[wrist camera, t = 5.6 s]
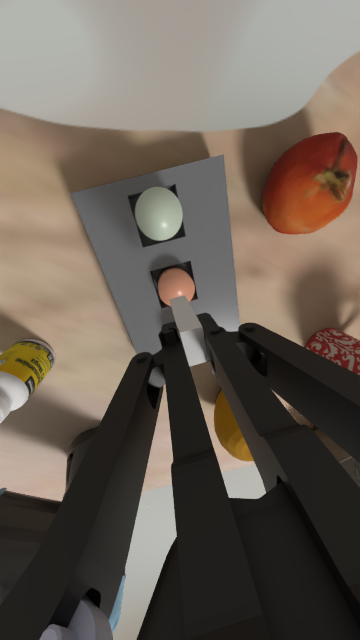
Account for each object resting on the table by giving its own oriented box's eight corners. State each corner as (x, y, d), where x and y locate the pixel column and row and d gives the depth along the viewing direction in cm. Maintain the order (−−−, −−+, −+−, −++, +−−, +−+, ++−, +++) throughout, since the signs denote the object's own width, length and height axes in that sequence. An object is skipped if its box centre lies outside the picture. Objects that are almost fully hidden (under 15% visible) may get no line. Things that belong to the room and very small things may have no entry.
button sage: (145, 242, 22) (143, 245, 19) (132, 199, 20) (128, 193, 17) (181, 233, 22) (186, 234, 19) (172, 189, 20) (176, 181, 17)
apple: (243, 358, 36) (279, 410, 26) (275, 391, 41) (316, 445, 31) (193, 397, 39) (207, 457, 28) (228, 423, 44) (252, 482, 34)
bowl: (291, 462, 55) (317, 507, 46) (280, 427, 47) (310, 473, 38) (353, 438, 54) (393, 480, 45) (353, 397, 46) (402, 438, 37)
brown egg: (162, 300, 27) (163, 310, 24) (153, 270, 25) (154, 276, 22) (191, 292, 27) (197, 301, 24) (185, 262, 25) (190, 267, 22)
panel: (144, 357, 33) (143, 370, 30) (82, 198, 22) (70, 193, 19) (233, 333, 33) (241, 344, 30) (213, 164, 22) (223, 154, 19)
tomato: (270, 248, 28) (312, 254, 20) (238, 189, 24) (274, 172, 17) (328, 200, 26) (395, 189, 19) (302, 129, 22) (374, 81, 15)
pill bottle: (64, 362, 31) (24, 423, 22) (29, 374, 31) (-27, 440, 22) (41, 331, 29) (-17, 386, 19) (3, 344, 29) (-76, 405, 19)
